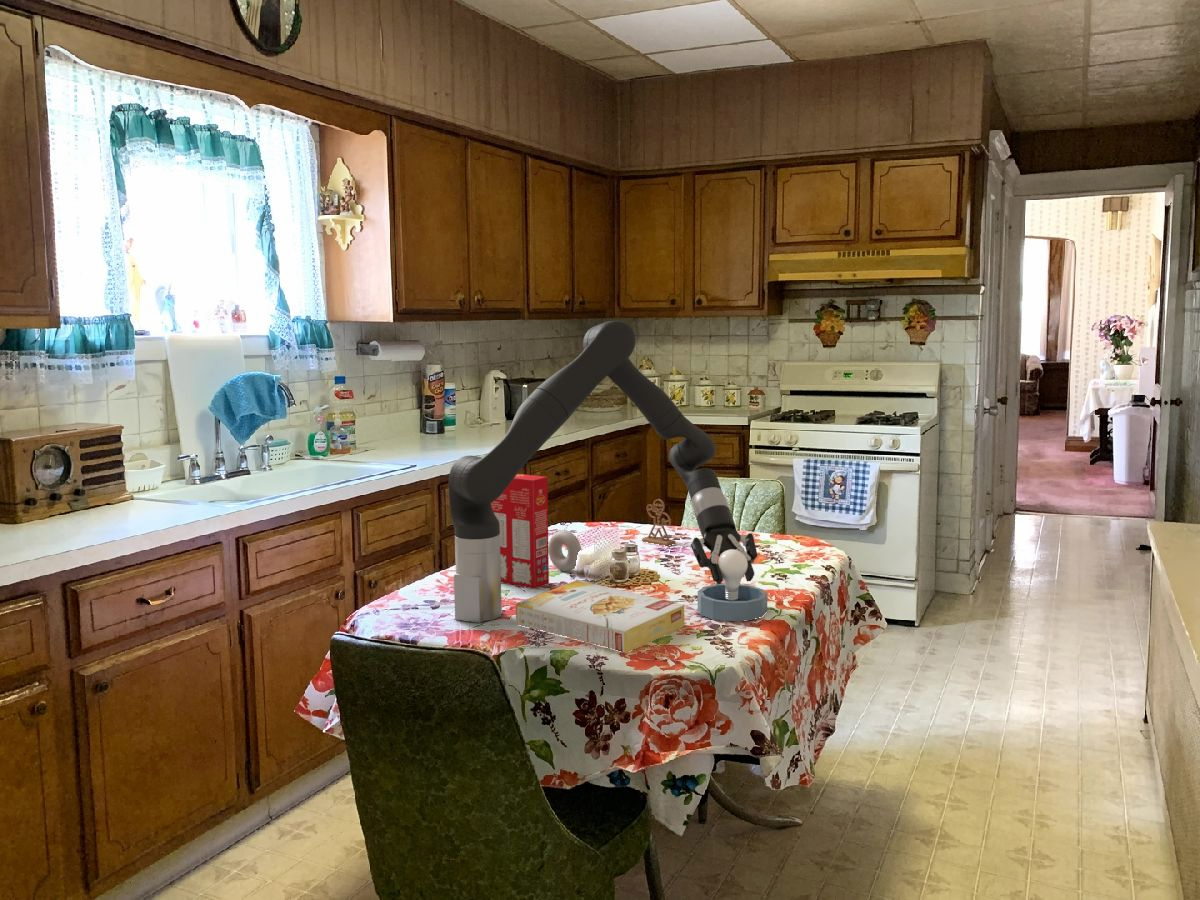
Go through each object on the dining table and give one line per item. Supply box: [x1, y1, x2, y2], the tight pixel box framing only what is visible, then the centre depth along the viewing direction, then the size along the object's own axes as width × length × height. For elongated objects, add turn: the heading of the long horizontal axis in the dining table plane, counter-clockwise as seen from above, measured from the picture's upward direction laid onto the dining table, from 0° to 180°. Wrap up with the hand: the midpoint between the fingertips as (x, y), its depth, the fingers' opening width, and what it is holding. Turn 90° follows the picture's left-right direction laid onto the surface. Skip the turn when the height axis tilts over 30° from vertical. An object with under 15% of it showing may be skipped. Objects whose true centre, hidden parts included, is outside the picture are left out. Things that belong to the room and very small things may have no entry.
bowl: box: [696, 583, 769, 622], centre depth 211 cm, size 14×14×4 cm
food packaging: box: [491, 473, 550, 589], centre depth 233 cm, size 15×5×25 cm, turn 57°
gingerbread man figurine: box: [641, 498, 677, 547], centre depth 271 cm, size 9×4×12 cm, turn 48°
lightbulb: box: [716, 549, 748, 601], centre depth 210 cm, size 6×6×11 cm
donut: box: [548, 530, 582, 572], centre depth 244 cm, size 10×3×10 cm, turn 48°
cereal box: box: [515, 579, 685, 653], centre depth 202 cm, size 20×6×28 cm
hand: (735, 580), depth 209 cm, fingers closed on lightbulb, 6 cm apart
